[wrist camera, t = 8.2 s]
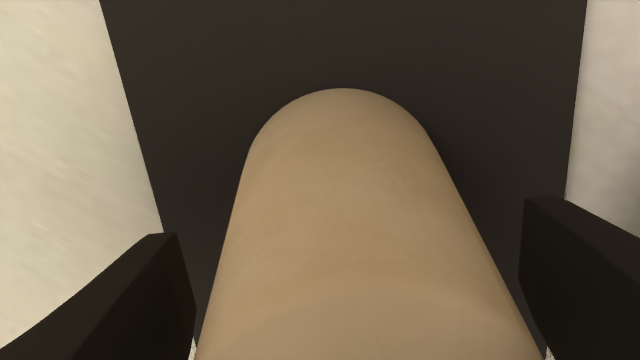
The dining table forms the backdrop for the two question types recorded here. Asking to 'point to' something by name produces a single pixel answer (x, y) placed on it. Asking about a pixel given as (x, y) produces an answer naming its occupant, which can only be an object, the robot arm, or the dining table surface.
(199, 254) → the mat
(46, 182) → the dining table surface
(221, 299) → the candle
